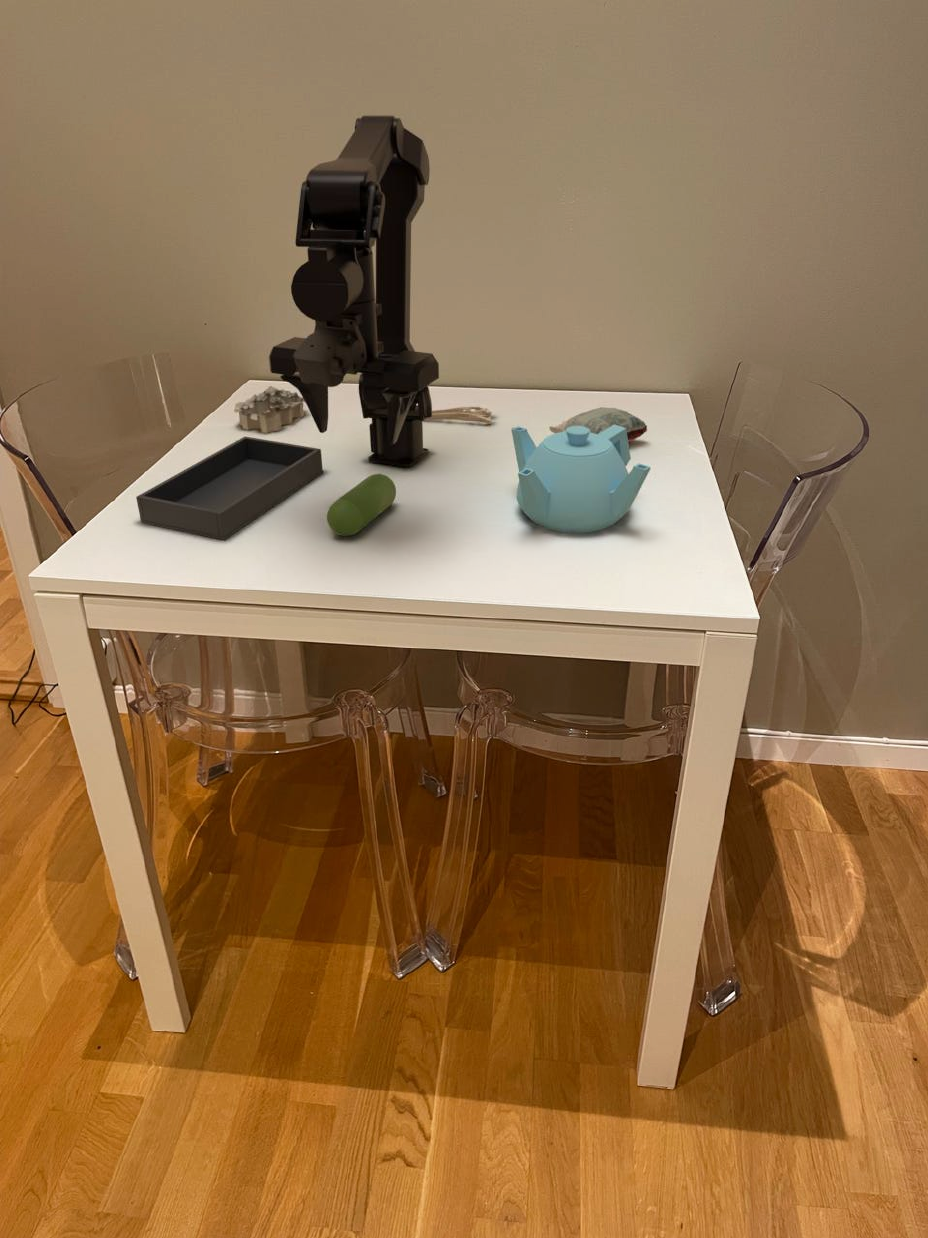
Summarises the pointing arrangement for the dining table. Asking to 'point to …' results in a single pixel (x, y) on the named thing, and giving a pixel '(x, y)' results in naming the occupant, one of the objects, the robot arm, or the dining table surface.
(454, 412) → the animal skull
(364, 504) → the squash
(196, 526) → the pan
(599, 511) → the teapot
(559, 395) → the dining table surface
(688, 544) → the dining table surface
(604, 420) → the packaged food
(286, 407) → the egg carton
